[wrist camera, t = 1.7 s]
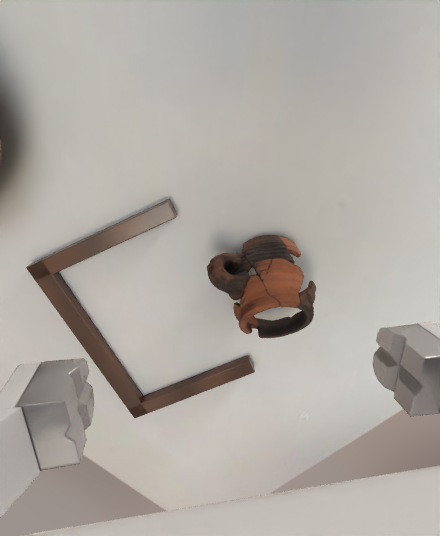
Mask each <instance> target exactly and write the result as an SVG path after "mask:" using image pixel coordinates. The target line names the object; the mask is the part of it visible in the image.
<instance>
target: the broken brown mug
mask: <svg viewBox="0 0 440 536" xmlns="http://www.w3.org/2000/svg"><path fill="white" fill-rule="evenodd" d="M290 254H293V255H294V256H296V257H299V256H300V255H301V254H300V251H299V250H298V248H297V247H296V246H295V244H294V242H292V241H291V240H289V239H287V238H285V237H281V236H275V235H266V236H259V237H256V238H253V239H251V240H249V241H247V242H246V243H244V244H243V249H242V253H236V254H229V253H223V254H220V255H217V256H215V257H214V258H212V259H211V261H210V264H209V265H208V266H207V270H208V276H209V279H210V281H211V283H212V284H213V285H214V286H215V287H216V288H218V289H219V290H222V291H224V292H226V293H228V294H229V296H230V297H231V298H232V299H233V300H239V299H241V300H240V304H239V303H234V313H235V316H236V318H237V320H238V321H239V327H240V329H241V330H242V331H243V332H244V333H246V334H249V333H252V328H255V329H258V334H259V337H260V338H276V337H282V336H285V335H288V334H292V333H295V332H298V331H299V330H301V329H303V328H305V327H306V326H308V325H309V324H310V322H311V321H312V319H313V316H314V314H313V312H314V311H313V309H314V307H313V303H314V300H315V291H316V286H315V284H314V282H313V281H310V282H309V285H308V287H307V288H306V289H305V290H304V291H302V292H300V293H299V291H300V289H301V285H302V282H303V277H304V275H303V273H302V270H301V269H300V268H299V267H298V266H296V265H294V260H293V258H292V256H291V255H290ZM252 267H253V268H254V269H255V271H256V273H257V274H256V275H251V276H249V274H248V272H249V271H250V269H251V268H252ZM276 307H294V308H298V309H300V310H302V311H300V312H299V313H297V314H295V315H294V316H292V317H291V318H290V317H285V318H282V319H279V320H274V321H271V320H263V319H258V318H255V317H254V315H255V314H257V313H259V312H262V311H264V310H267V309H271V308H276Z"/></svg>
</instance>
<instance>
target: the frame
mask: <svg viewBox="0 0 440 536" xmlns="http://www.w3.org/2000/svg"><path fill="white" fill-rule="evenodd" d="M176 216H177V213H176V211H175V209H174V207H173V205H172V203H171V201H170V200H169V199H168V200H166V201H164V202H162V203H160V204H158V205H155V206H153V207H151V208H149V209H147V210H145V211H143V212H140V213H138V214H136V215H134V216H132V217H130V218H128V219H126V220H123V221H121V222H119V223H117V224H115V225H113V226H111V227H109V228H106V229H104V230H102V231H100V232H98V233H96V234H94V235H91V236H89V237H87V238H85V239H83V240H81V241H79V242H77V243H74V244H72V245H70V246H68V247H66V248H64V249H62V250H60V251H57V252H55V253H53V254H51V255H49V256H47V257H45V258H42V259H40V260H38V261H36V262H34V263H32V264H30V265H29V266H27V267H26V268H27V269H28V271H29V272H30V274H31V275H32V276H33V278H34V279H35V281H36V282H37V283H38V285H39V286H40V288H41V289H42V290H43V292H44V293H45V294H46V296H47V297H48V299H49V300H50V301H51V303H52V304H53V306H54V307H55V308H56V310H57V311H58V313H59V314H60V315H61V317H62V318H63V319H64V321H65V322H66V324H67V325H68V326H69V328H70V329H71V331H72V332H73V333H74V335H75V336H76V337H77V339H78V340H79V342H80V343H81V344H82V346H83V347H84V349H85V350H86V351H87V353H88V354H89V356H90V357H91V358H92V360H93V361H94V362H95V364H96V365H97V367H98V368H99V369H100V371H101V372H102V374H103V375H104V376H105V378H106V379H107V381H108V382H109V383H110V385H111V386H112V387H113V389H114V390H115V392H116V393H117V394H118V396H119V397H120V399H121V400H122V401H123V403H124V404H125V405H126V407H127V408H128V410H129V411H130V413H131V414H132V415H133V417H134V418H137V417H139V416H142V415H145V414H147V413H150V412H152V411H155V410H158V409H160V408H163V407H165V406H168V405H171V404H173V403H176V402H178V401H181V400H184V399H186V398H189V397H191V396H194V395H197V394H199V393H202V392H204V391H207V390H210V389H212V388H215V387H217V386H220V385H223V384H225V383H228V382H230V381H233V380H236V379H238V378H241V377H243V376H246V375H249V374H251V373H254V372H255V371H254V366H253V364H252V362H251V360H250V358H249V356H248V355H247V356H245V357H242V358H240V359H237V360H235V361H232V362H230V363H227V364H224V365H222V366H219V367H217V368H214V369H212V370H209V371H207V372H204V373H202V374H199V375H196V376H194V377H191V378H189V379H186V380H184V381H181V382H179V383H176V384H174V385H171V386H168V387H166V388H163V389H161V390H158V391H156V392H153V393H151V394H148V395H145V396H143V395H142V394H141V392H140V391H139V389H138V388H137V387H136V385H135V384H134V382H133V381H132V379H131V378H130V376H129V375H128V373H127V372H126V371H125V369H124V368H123V366H122V365H121V363H120V362H119V360H118V359H117V357H116V356H115V354H114V353H113V352H112V350H111V349H110V347H109V346H108V344H107V343H106V341H105V340H104V338H103V337H102V336H101V334H100V333H99V331H98V330H97V328H96V327H95V325H94V324H93V322H92V321H91V319H90V318H89V317H88V315H87V314H86V312H85V311H84V309H83V308H82V306H81V305H80V303H79V302H78V301H77V299H76V298H75V296H74V295H73V293H72V292H71V290H70V289H69V287H68V286H67V284H66V283H65V282H64V280H63V279H62V277H61V276H60V274H59V273H58V272H59V271H61V270H63V269H65V268H67V267H70V266H72V265H74V264H76V263H78V262H80V261H83V260H85V259H87V258H89V257H91V256H93V255H96V254H98V253H100V252H102V251H104V250H106V249H109V248H111V247H113V246H115V245H117V244H119V243H122V242H124V241H126V240H128V239H130V238H133V237H135V236H137V235H139V234H141V233H143V232H146V231H148V230H150V229H152V228H154V227H156V226H159V225H161V224H163V223H165V222H167V221H169V220H172V219H174V218H176Z"/></svg>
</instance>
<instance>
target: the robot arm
mask: <svg viewBox="0 0 440 536" xmlns="http://www.w3.org/2000/svg"><path fill="white" fill-rule="evenodd" d="M376 341H377V343H378V345H379V346H380V348H379V349H378V350H377V351H376V352H375V354H374V358H373V368H374V372H375V375H376V377H377V379H378V381H379V382H380V383H381V384H382V385H383V386H384V387H385V388H387V389H389V390H391V391H393V392H394V399H395V400H396V401H397V402H398V403H399V404H400V405H401V407H402V408H403V409H404V410H405V411H406V412H407V413H408V414H409V415H410V416H421V415H430V414H439V413H440V326H439V325H438V324H436V323H433V322H424V323H417V324H412V325H404V326H396V327H387V328H381V329H380V330H379V332H378V334H377V339H376ZM88 374H89V369H88V365H87V361H86V360H85V359H84V358H82V359H70V360H58V361H46V362H35V363H26V364H21V365H19V366H18V367H17V368H16V370H15V371H14V372H13V374H12V375H11V377H10V378H9V380H8V381H7V383H6V384H5V386H4V387H3V389H2V390H1V392H0V518H1V516H2V515H3V514H4V513H5V512H6V511H7V510H8V509H9V507H10V506H11V505H12V504H13V503H14V502H15V501H16V500H17V498H18V497H19V496H20V495H21V494H22V493H23V492H24V491H25V489H26V488H27V487H28V486H29V485H30V484H31V483H32V481H34V479H35V478H36V477H37V476H38V475H39V474H40V471H41V470H46V469H52V468H58V467H64V466H69V465H76V464H80V461H81V457H82V454H83V450H84V447H85V443H86V435H85V429H86V428H88V427H89V426H90V425H91V421H92V417H93V409H94V396H93V389H92V386H91V385H90V384H89V383H87V382H86V380H87V377H88ZM20 536H440V466H435V467H429V468H423V469H417V470H411V471H405V472H399V473H393V474H387V475H381V476H375V477H368V478H363V479H357V480H350V481H344V482H338V483H333V484H326V485H320V486H315V487H309V488H302V489H296V490H290V491H284V492H279V493H272V494H266V495H260V496H254V497H248V498H242V499H236V500H230V501H224V502H218V503H212V504H206V505H200V506H194V507H188V508H182V509H176V510H170V511H164V512H159V513H152V514H146V515H140V516H134V517H128V518H122V519H116V520H111V521H104V522H98V523H92V524H86V525H80V526H74V527H68V528H62V529H57V530H50V531H44V532H39V533H32V534H26V535H20Z"/></svg>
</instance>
